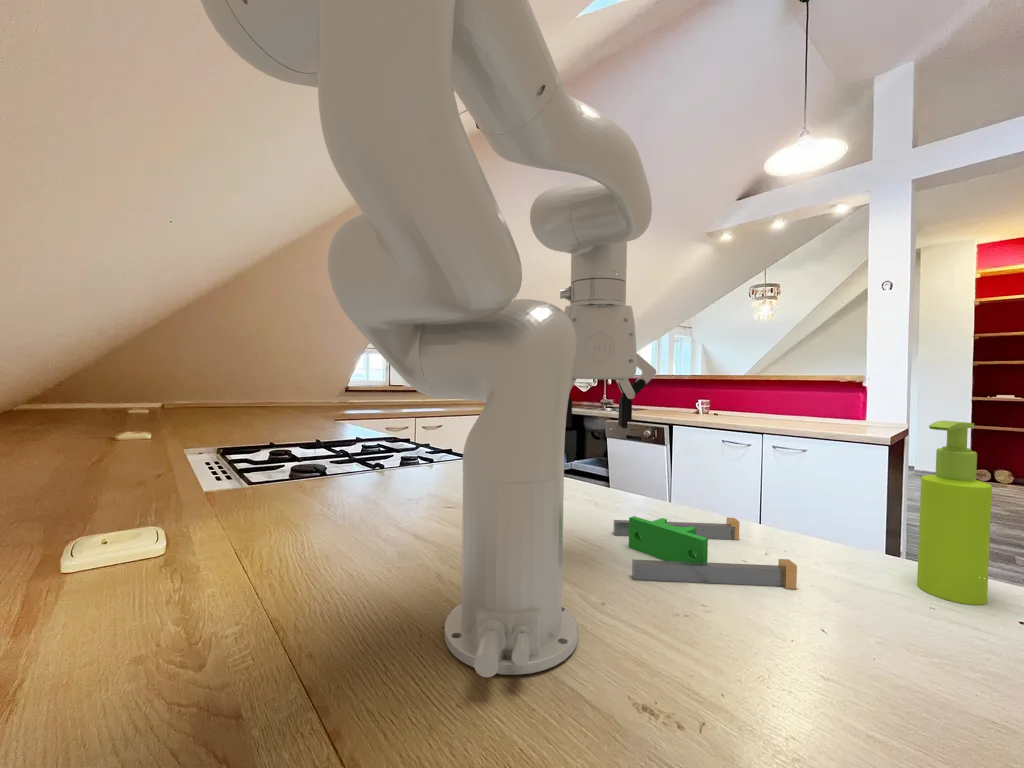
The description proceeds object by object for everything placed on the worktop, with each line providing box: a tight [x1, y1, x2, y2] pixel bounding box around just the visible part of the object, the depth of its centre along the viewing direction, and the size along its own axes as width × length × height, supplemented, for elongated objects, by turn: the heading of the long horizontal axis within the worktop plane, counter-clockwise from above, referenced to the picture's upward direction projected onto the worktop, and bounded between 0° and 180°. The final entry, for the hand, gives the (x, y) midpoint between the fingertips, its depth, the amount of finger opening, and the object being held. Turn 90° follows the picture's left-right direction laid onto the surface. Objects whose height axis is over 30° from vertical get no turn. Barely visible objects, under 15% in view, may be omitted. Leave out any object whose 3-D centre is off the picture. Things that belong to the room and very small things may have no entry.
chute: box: [613, 517, 798, 590], centre depth 63 cm, size 18×19×3 cm
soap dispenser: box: [916, 420, 993, 606], centre depth 53 cm, size 6×7×20 cm
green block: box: [628, 515, 709, 563], centre depth 63 cm, size 11×4×5 cm, turn 39°
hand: (595, 425), depth 63 cm, fingers open, 6 cm apart
